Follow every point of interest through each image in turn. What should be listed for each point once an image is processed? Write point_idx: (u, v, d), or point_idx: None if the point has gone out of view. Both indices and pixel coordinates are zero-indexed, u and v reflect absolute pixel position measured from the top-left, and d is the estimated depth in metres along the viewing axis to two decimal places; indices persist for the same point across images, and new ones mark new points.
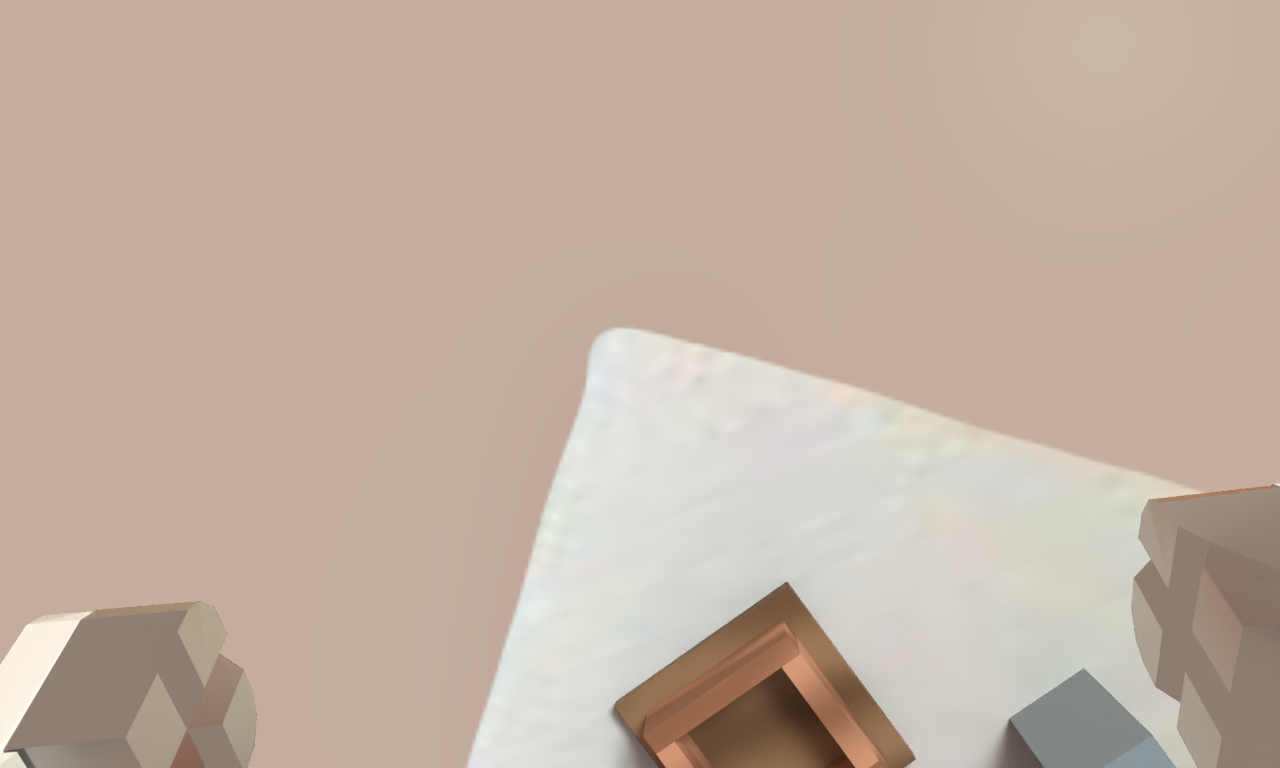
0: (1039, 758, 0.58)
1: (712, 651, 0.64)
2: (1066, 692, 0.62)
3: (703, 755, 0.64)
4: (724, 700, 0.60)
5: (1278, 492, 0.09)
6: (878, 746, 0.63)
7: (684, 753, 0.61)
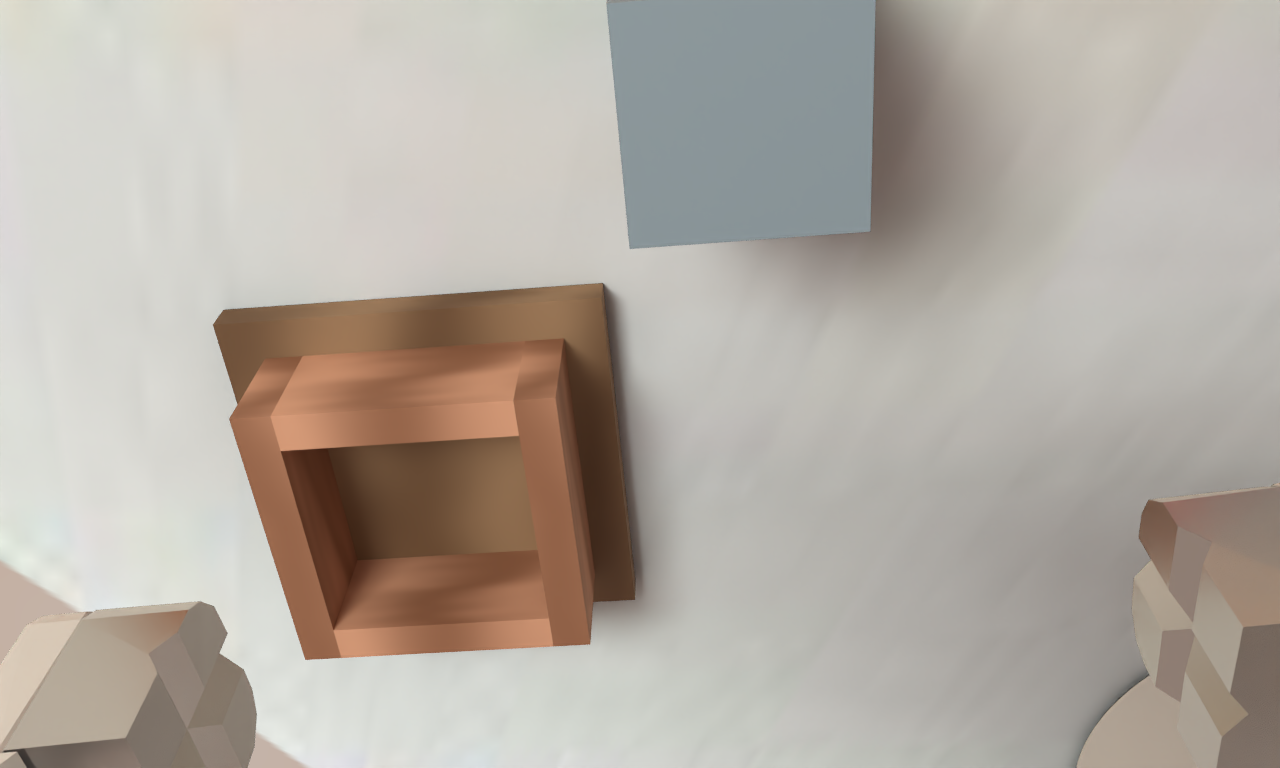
0: None
1: None
2: None
3: (427, 560, 0.39)
4: (299, 545, 0.35)
5: (1278, 492, 0.09)
6: (548, 338, 0.35)
7: (363, 622, 0.37)
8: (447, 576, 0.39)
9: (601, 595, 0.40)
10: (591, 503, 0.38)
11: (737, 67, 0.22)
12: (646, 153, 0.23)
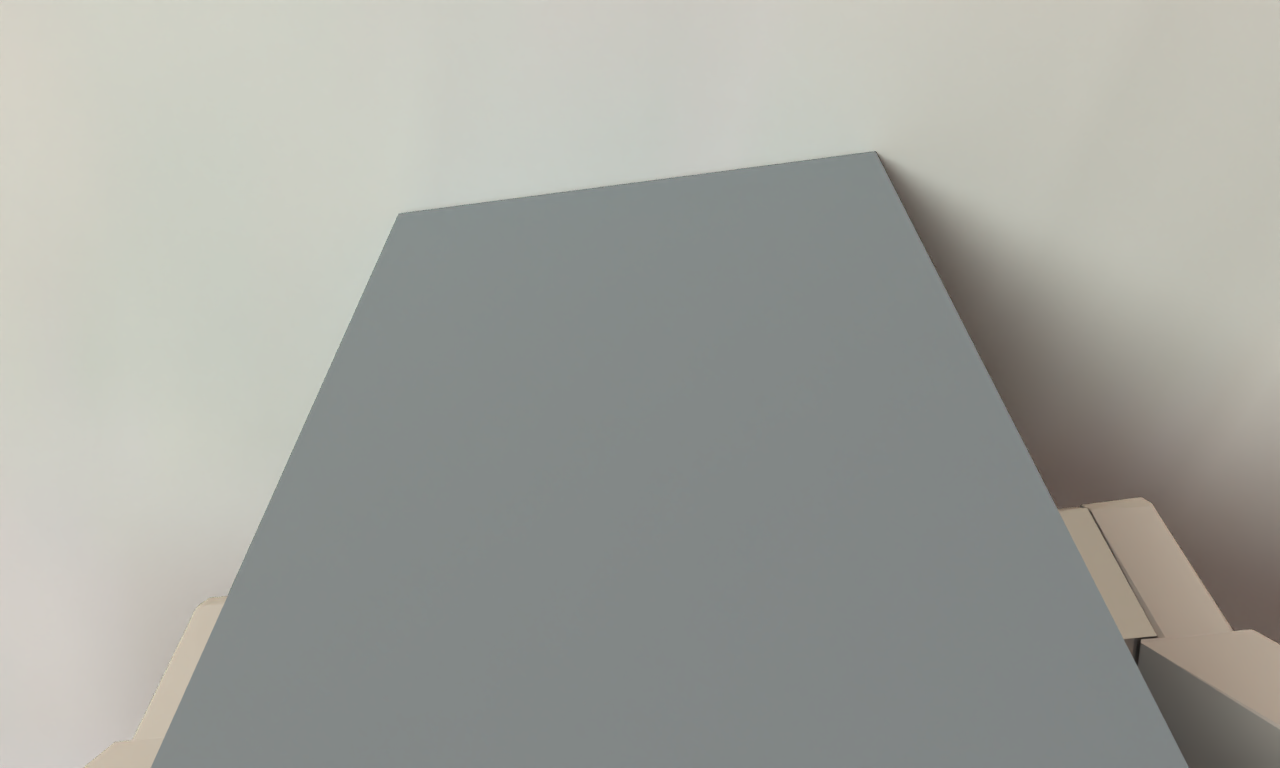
0: None
1: None
2: None
3: None
4: None
5: (1081, 513, 0.09)
6: None
7: None
8: None
9: None
10: None
11: None
12: None
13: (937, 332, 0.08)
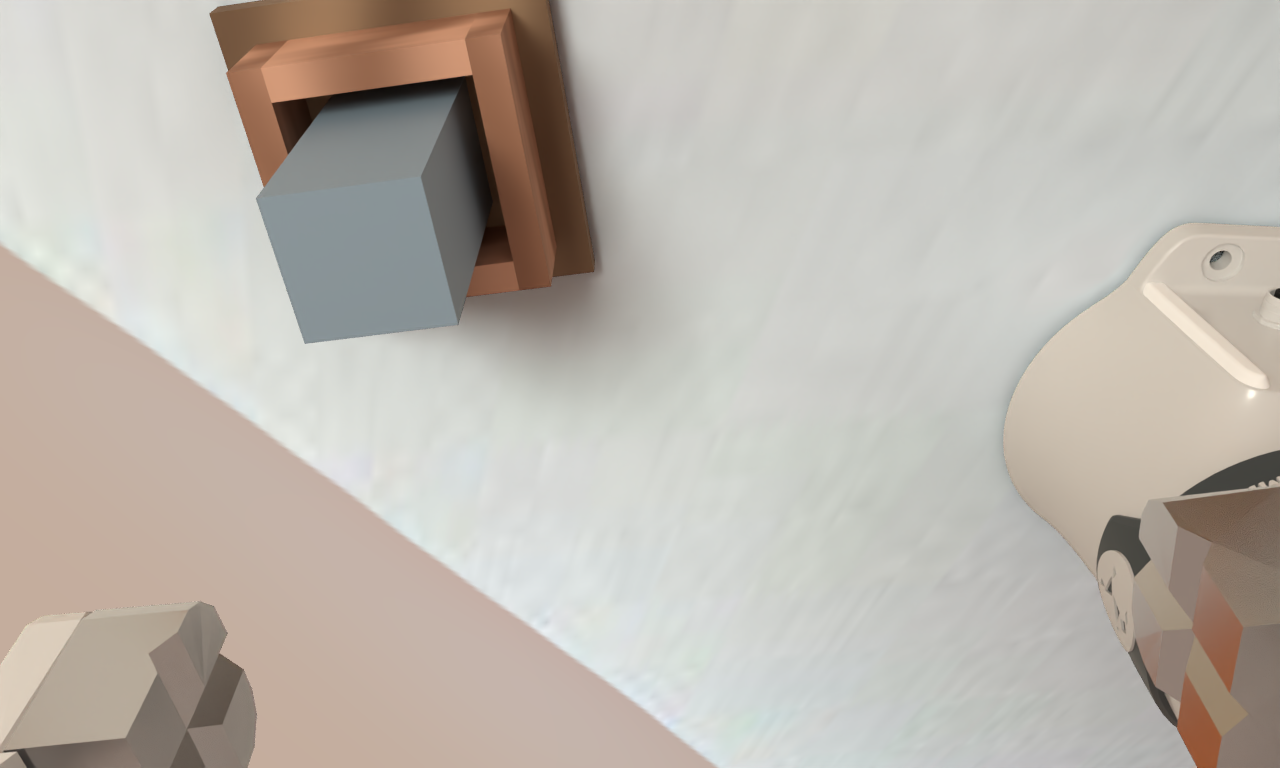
0: None
1: None
2: None
3: None
4: None
5: (1278, 492, 0.09)
6: (496, 8, 0.41)
7: None
8: None
9: (564, 269, 0.46)
10: (547, 175, 0.44)
11: (347, 231, 0.34)
12: (301, 285, 0.35)
13: (444, 109, 0.39)
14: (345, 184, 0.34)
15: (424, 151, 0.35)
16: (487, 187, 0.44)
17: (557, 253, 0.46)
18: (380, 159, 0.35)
